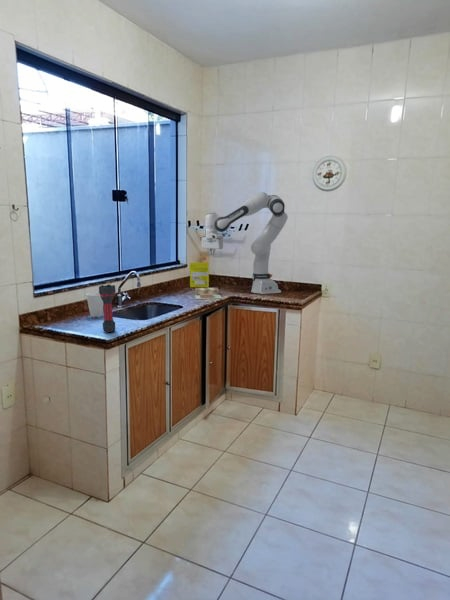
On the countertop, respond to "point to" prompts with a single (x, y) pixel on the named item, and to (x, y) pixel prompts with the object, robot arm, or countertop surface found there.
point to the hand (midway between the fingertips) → (212, 254)
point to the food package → (199, 274)
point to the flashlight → (107, 306)
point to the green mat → (209, 298)
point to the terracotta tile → (206, 295)
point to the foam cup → (95, 304)
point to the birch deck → (206, 291)
